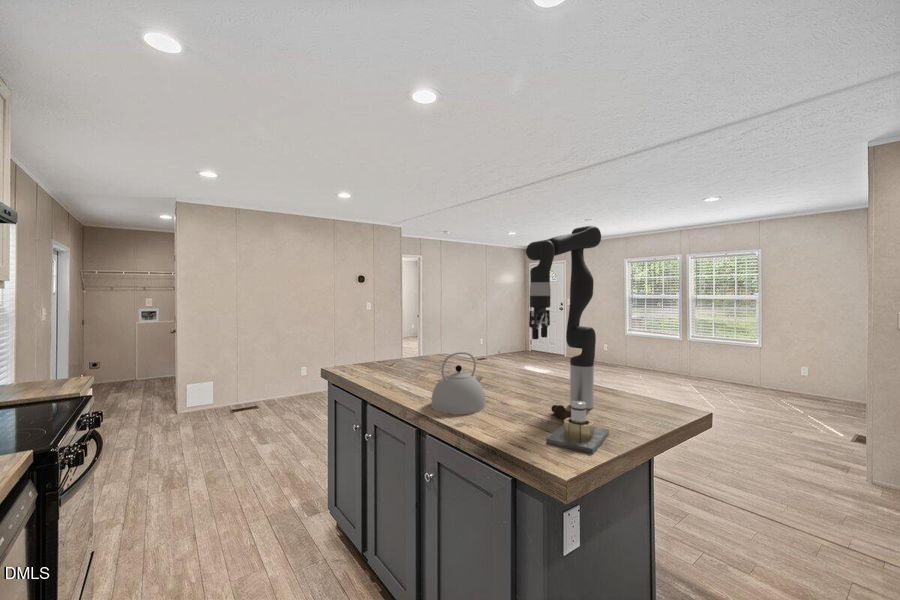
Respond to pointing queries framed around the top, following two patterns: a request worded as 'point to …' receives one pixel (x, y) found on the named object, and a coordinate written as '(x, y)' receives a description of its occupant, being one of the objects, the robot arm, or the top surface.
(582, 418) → the cylinder
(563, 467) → the top surface
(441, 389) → the kettle
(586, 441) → the square base with ring
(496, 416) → the top surface
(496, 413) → the top surface
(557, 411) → the bolt
